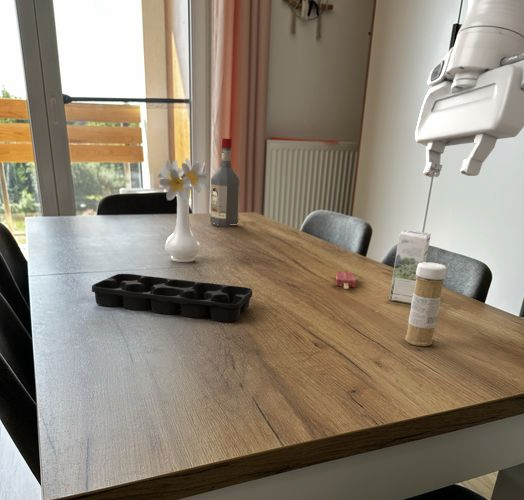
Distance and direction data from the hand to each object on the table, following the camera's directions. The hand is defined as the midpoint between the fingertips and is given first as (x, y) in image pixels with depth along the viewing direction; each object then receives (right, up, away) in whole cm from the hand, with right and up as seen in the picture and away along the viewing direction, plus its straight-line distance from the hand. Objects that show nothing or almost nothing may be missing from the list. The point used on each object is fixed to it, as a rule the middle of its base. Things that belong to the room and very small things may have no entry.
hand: (448, 175), depth 70 cm
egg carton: (-42, -15, +29) cm, 54 cm away
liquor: (-40, +23, +124) cm, 132 cm away
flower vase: (-46, 0, +65) cm, 80 cm away
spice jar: (+1, -23, +18) cm, 29 cm away
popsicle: (-6, -8, +51) cm, 52 cm away
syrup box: (+5, -13, +42) cm, 44 cm away
